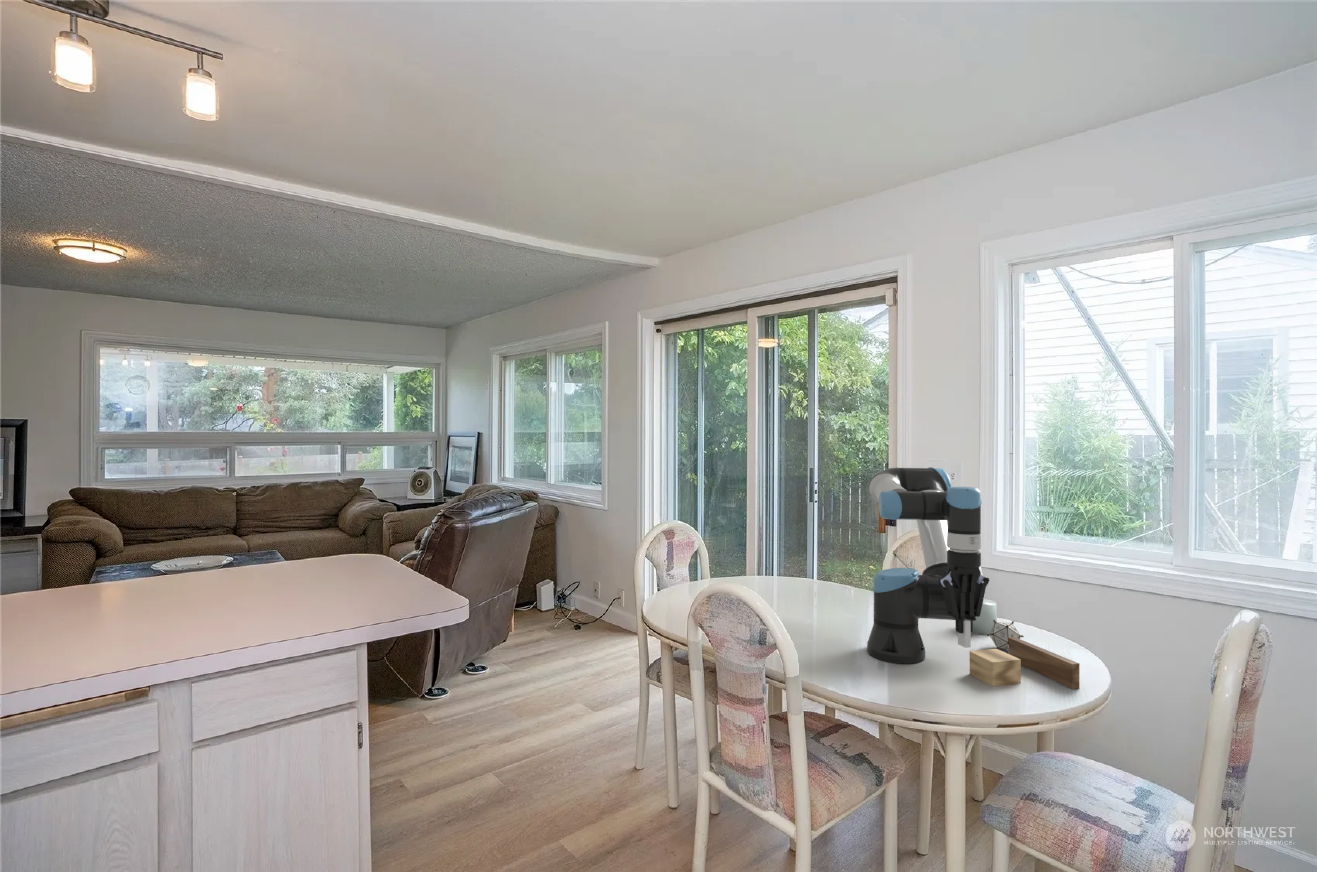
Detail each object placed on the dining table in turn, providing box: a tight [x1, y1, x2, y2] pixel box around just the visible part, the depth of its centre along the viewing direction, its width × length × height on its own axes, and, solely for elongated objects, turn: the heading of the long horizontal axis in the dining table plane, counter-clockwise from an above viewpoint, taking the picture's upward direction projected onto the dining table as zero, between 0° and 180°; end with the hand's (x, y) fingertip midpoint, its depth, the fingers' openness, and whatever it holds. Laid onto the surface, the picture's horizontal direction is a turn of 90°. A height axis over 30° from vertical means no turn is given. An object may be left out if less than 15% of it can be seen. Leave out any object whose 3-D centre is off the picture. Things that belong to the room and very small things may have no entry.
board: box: [1008, 637, 1080, 690], centre depth 161 cm, size 2×20×6 cm, turn 13°
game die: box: [986, 620, 1025, 650], centre depth 178 cm, size 9×8×10 cm
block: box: [969, 648, 1022, 687], centre depth 158 cm, size 8×8×6 cm
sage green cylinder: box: [971, 598, 998, 636], centre depth 195 cm, size 8×8×9 cm
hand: (964, 645), depth 155 cm, fingers closed
